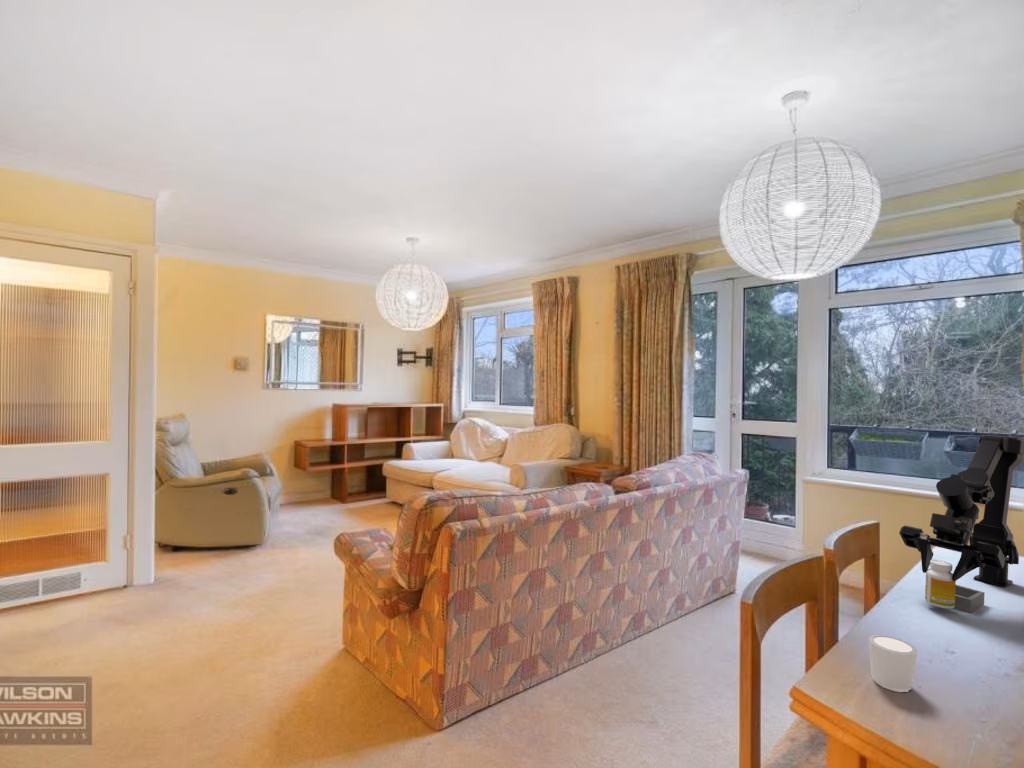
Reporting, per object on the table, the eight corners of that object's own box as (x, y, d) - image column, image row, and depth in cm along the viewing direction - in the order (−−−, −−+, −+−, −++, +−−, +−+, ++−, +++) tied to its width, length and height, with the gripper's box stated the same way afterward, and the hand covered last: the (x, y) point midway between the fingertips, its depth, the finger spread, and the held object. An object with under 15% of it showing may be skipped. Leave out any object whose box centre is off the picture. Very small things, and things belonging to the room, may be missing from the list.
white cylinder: (918, 700, 86) (919, 658, 86) (868, 686, 90) (869, 646, 90) (913, 680, 92) (914, 641, 92) (866, 668, 96) (867, 630, 96)
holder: (939, 591, 132) (940, 580, 132) (984, 604, 125) (984, 592, 125) (925, 598, 127) (925, 586, 127) (970, 612, 120) (970, 600, 120)
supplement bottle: (961, 609, 119) (962, 567, 118) (937, 608, 119) (938, 566, 119) (942, 599, 124) (943, 558, 124) (919, 598, 124) (920, 558, 124)
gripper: (903, 493, 131) (881, 543, 125) (1002, 510, 115) (982, 569, 109) (916, 519, 135) (895, 570, 130) (1013, 540, 119) (994, 598, 114)
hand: (938, 575), depth 120 cm, fingers closed on supplement bottle, 5 cm apart
